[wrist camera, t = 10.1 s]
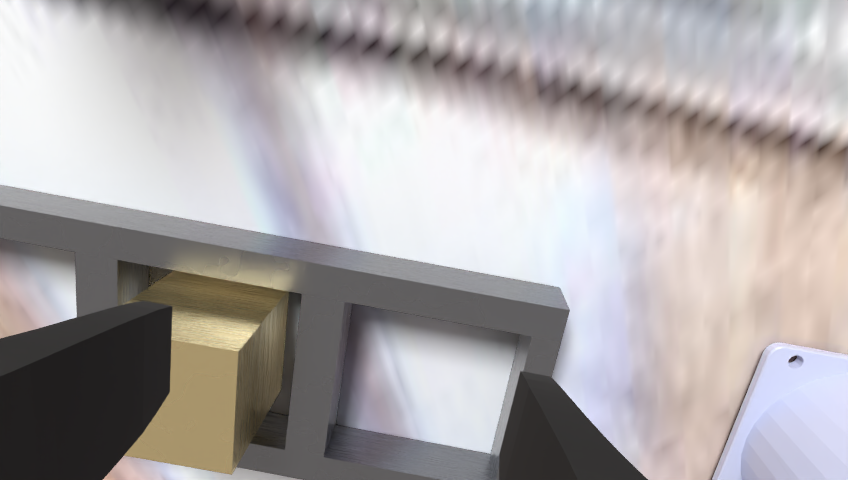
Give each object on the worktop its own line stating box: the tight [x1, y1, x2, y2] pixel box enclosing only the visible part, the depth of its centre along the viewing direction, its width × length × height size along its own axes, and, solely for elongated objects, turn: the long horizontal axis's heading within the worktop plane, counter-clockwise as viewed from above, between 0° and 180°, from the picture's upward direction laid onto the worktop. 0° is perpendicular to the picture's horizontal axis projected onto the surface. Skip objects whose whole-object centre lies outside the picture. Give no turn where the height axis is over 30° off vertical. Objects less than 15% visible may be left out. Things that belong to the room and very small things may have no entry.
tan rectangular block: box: [123, 270, 289, 474], centre depth 19 cm, size 4×4×5 cm
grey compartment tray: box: [0, 185, 570, 480], centre depth 21 cm, size 24×9×2 cm, turn 80°
